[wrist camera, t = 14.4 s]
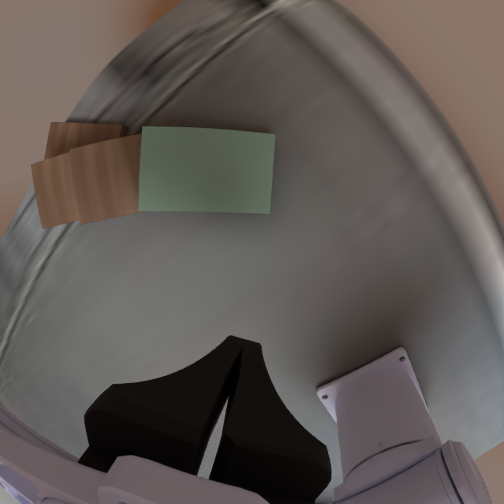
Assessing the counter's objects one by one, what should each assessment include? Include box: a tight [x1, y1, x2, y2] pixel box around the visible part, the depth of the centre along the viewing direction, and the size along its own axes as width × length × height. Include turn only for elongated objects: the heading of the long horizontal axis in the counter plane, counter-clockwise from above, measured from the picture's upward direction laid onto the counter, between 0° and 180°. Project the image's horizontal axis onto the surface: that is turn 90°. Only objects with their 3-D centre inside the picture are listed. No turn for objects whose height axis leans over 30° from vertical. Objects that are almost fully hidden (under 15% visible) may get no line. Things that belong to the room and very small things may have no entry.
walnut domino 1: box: [31, 152, 80, 229], centre depth 19 cm, size 2×5×8 cm
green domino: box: [138, 126, 275, 214], centre depth 18 cm, size 2×5×8 cm
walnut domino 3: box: [69, 126, 189, 224], centre depth 18 cm, size 2×5×8 cm
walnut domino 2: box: [44, 122, 127, 160], centre depth 21 cm, size 2×5×8 cm
